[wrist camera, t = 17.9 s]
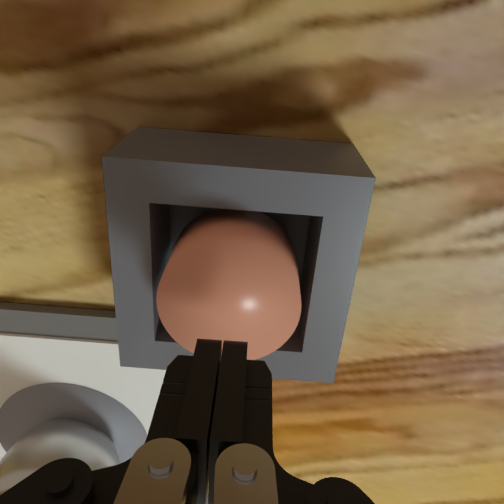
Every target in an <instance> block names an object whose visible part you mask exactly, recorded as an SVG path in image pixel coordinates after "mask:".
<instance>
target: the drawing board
mask: <svg viewBox="0 0 504 504" xmlns="http://www.w3.org/2000/svg"><path fill="white" fill-rule="evenodd" d="M165 373H166V370H160V369H147V368H135V367H122V366H120V358H119V347H118V336H117V324H116V313H115V311H108V310H96V309H83V308H70V307H57V306H45V305H32V304H19V303H6V302H0V461H1V459H2V458H3V456H4V455H5V454H6V453H7V452H8V450H9V449H10V448H11V447H12V446H13V445H14V443H15V442H16V441H17V440H18V439H19V438H20V437H21V435H22V434H23V433H25V432H26V431H28V430H29V429H31V428H33V427H35V426H38V425H40V424H42V423H44V422H47V421H51V420H56V419H70V420H77V421H81V422H85V423H87V424H90V425H92V426H94V427H96V428H97V429H99V430H101V431H102V432H103V433H104V434H106V435H107V436H108V437H109V438H110V440H111V441H112V442H113V444H114V446H115V448H116V450H117V453H118V456H119V459H120V463H123V462H125V461H127V460H128V459H130V458H131V457H132V456H133V455H134V453H135V452H136V450H137V449H138V448H139V447H141V446H142V445H143V444H144V443H145V441H146V438H147V435H148V431H149V428H150V424H151V421H152V417H153V414H154V410H155V407H156V404H157V400H158V397H159V395H160V390H161V386H162V384H163V379H164V376H165ZM208 482H209V481H208ZM206 504H208V489H207V496H206Z"/></svg>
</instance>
